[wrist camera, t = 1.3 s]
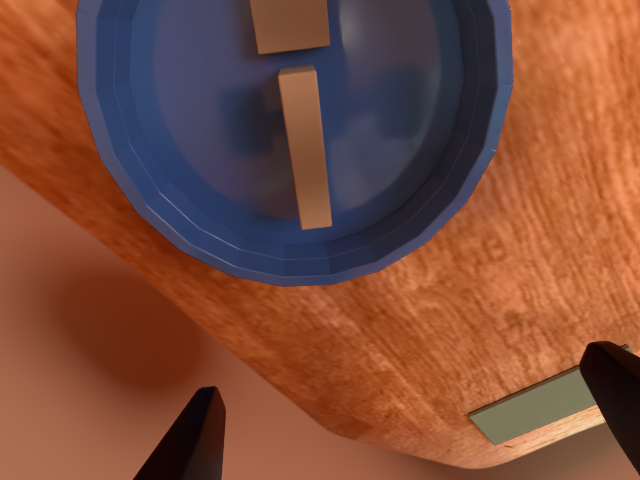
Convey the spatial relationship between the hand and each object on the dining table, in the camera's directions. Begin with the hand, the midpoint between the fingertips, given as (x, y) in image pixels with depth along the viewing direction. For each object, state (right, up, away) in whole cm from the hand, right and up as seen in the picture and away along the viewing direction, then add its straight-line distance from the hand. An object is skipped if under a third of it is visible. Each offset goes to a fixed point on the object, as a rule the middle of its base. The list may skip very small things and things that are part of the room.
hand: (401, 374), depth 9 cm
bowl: (-3, +9, +7) cm, 12 cm away
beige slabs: (-3, +9, +7) cm, 12 cm away
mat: (+17, -9, +20) cm, 28 cm away
